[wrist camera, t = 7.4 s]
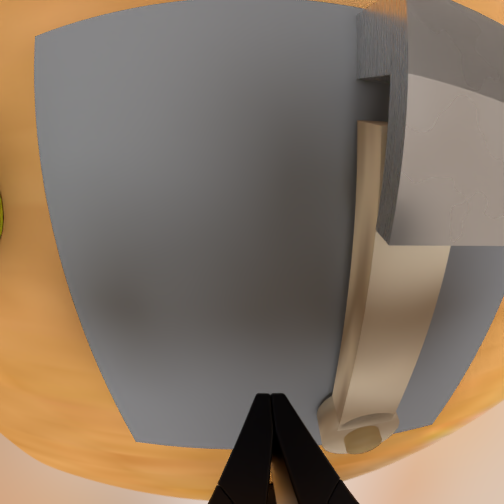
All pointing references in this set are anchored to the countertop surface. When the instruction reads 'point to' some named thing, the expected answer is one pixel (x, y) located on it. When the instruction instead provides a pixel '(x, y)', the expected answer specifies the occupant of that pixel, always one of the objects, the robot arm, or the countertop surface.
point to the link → (378, 315)
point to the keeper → (438, 121)
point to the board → (225, 212)
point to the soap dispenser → (1, 217)
